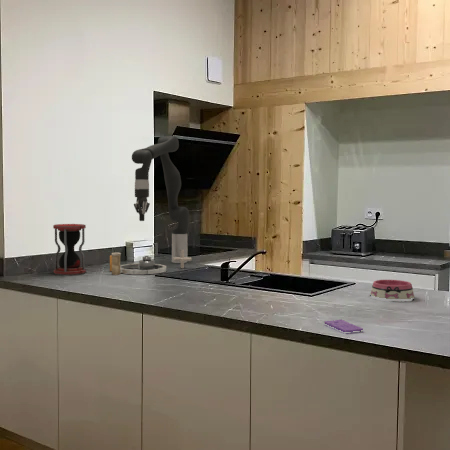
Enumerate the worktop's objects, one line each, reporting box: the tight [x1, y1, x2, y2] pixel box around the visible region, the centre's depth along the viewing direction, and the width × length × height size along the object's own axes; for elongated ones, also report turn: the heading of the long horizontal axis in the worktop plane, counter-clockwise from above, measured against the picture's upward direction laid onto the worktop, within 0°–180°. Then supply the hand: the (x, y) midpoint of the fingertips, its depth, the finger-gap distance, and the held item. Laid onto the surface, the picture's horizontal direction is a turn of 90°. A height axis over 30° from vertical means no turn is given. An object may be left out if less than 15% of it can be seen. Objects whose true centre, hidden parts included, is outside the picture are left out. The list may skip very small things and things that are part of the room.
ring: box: [109, 254, 167, 275], centre depth 305 cm, size 26×30×8 cm
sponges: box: [323, 319, 364, 332], centre depth 188 cm, size 7×13×2 cm, turn 23°
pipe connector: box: [173, 250, 192, 269], centre depth 318 cm, size 10×10×10 cm
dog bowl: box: [369, 279, 415, 299], centre depth 242 cm, size 18×19×7 cm
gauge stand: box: [111, 252, 122, 276], centre depth 293 cm, size 4×4×11 cm
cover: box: [138, 255, 155, 270], centre depth 310 cm, size 8×8×8 cm
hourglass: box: [52, 223, 87, 276], centre depth 296 cm, size 16×16×25 cm
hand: (141, 220), depth 304 cm, fingers closed
